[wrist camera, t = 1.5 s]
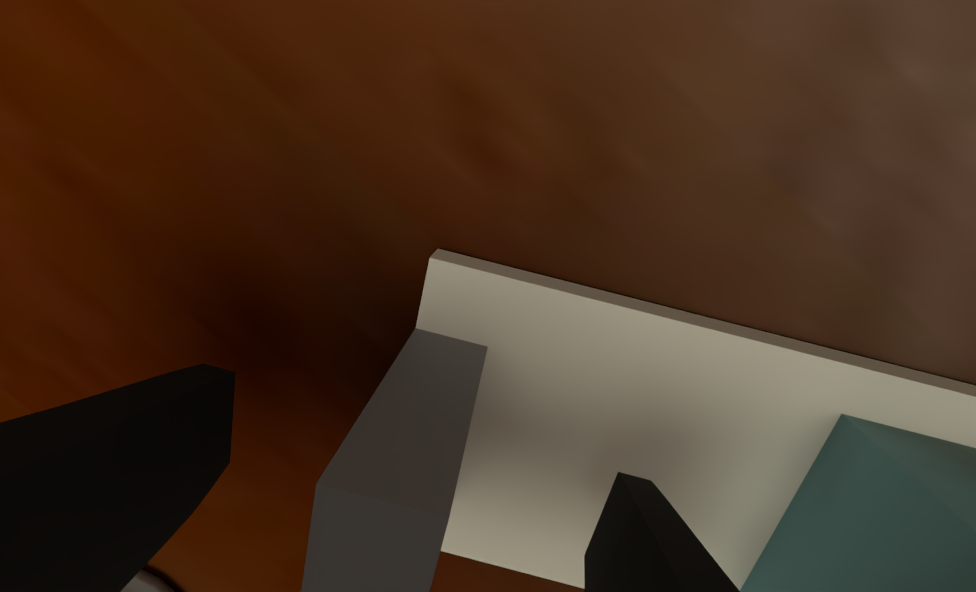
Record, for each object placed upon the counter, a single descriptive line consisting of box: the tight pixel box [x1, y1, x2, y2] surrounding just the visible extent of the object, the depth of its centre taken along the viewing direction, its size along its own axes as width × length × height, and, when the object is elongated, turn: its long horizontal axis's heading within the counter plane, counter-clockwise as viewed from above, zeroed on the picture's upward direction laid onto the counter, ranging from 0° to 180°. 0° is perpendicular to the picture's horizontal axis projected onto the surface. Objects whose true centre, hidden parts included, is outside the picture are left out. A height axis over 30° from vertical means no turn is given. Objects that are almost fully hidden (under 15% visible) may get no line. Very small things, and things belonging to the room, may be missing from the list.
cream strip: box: [301, 249, 976, 592], centre depth 8 cm, size 14×7×5 cm, turn 77°
